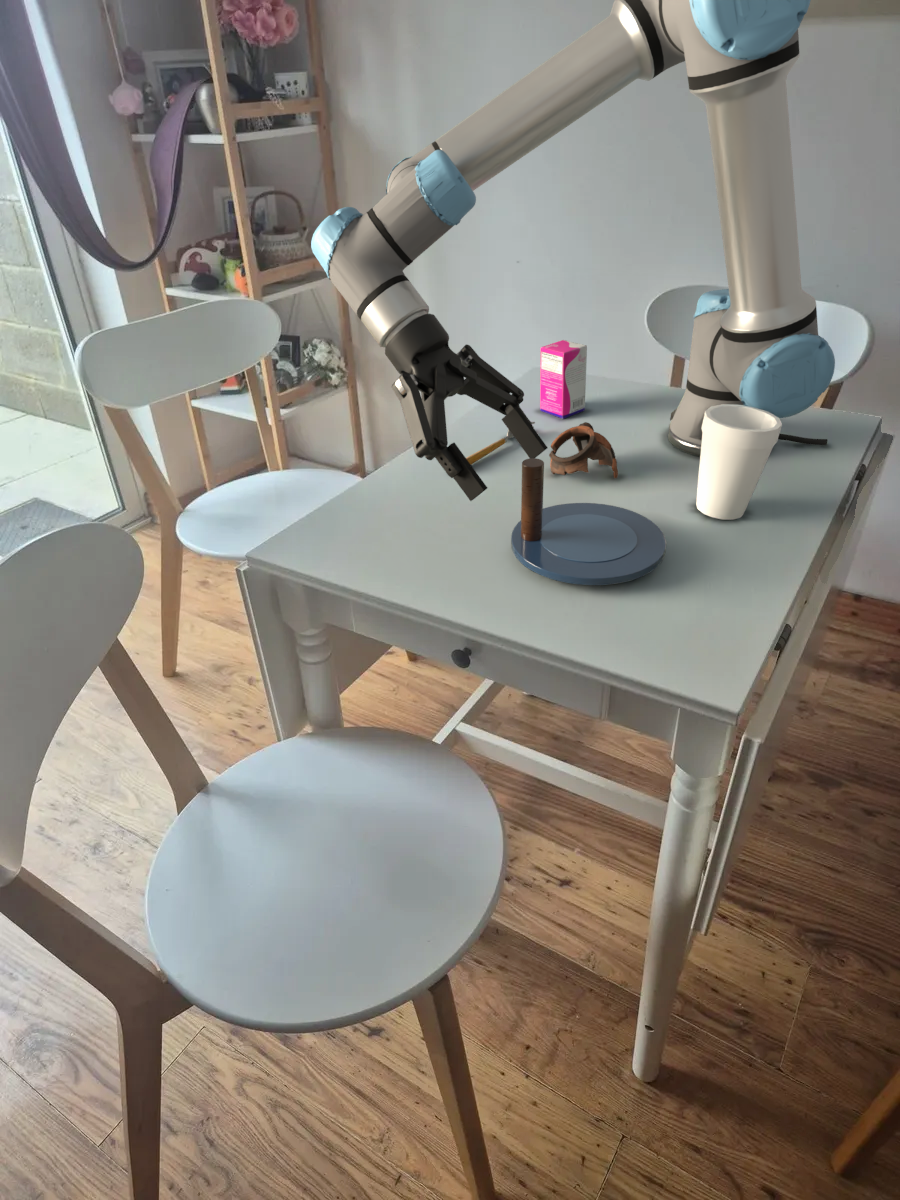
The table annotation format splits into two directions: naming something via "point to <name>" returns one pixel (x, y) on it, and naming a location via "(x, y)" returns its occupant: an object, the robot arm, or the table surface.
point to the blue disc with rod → (582, 538)
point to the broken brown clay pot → (582, 451)
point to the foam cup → (733, 457)
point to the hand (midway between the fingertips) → (510, 473)
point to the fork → (489, 448)
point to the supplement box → (563, 378)
